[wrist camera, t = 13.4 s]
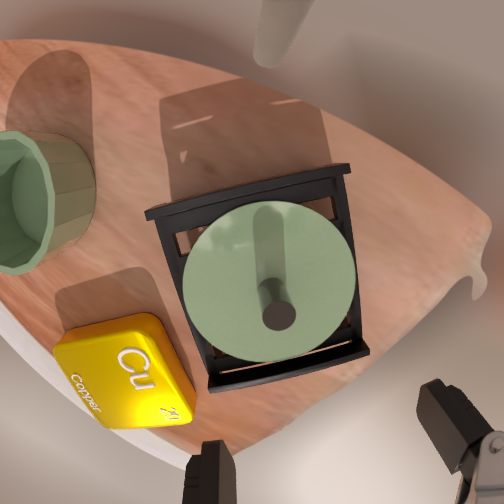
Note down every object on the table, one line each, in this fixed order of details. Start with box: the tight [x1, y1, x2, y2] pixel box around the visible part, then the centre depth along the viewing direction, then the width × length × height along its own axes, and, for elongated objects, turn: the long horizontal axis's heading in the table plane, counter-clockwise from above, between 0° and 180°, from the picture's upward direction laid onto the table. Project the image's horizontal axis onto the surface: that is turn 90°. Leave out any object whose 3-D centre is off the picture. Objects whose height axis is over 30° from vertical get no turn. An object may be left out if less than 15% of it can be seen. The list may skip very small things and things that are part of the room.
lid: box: [183, 200, 356, 362], centre depth 23 cm, size 15×15×6 cm
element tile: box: [53, 313, 197, 429], centre depth 32 cm, size 15×15×5 cm
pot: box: [0, 130, 96, 276], centre depth 24 cm, size 14×14×8 cm
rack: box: [144, 163, 370, 394], centre depth 28 cm, size 18×16×8 cm
